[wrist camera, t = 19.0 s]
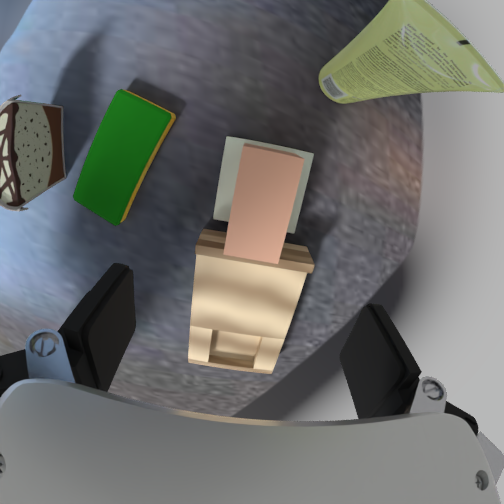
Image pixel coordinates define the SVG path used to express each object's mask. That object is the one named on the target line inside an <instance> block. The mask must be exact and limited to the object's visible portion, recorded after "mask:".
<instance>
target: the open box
mask: <svg viewBox="0 0 504 504" xmlns="http://www.w3.org/2000/svg"><path fill="white" fill-rule="evenodd" d="M226 235H227V232H221V231H215V230H209V229H203V230H202V232H201V234H200V237H199V239H198V241H197V243H196V248H195V254H197V256H196V266H195V276H194V286H193V297H192V309H191V323H190V337H189V354H188V362H189V363H195V364H200V365H206V366H212V367H219V368H226V369H233V370H240V371H248V372H257V373H267V374H272V371H273V369H274V366H275V363H276V361H277V358H278V356H279V353H280V350H281V347H282V345H283V342H284V339H285V337H286V334H287V331H288V328H289V325H290V323H291V320H292V317H293V314H294V311H295V308H296V305H297V302H298V299H299V297H300V294H301V291H302V288H303V284H304V281H305V278H306V275H307V273H312V272H313V269H314V262H313V260H312V258H311V255H310V253H309V251H308V248H307V247H306V246H300V245H295V244H289V243H284V244H283V247H282V251H281V255H280V259H279V262H278V264H274V263H269V262H263V261H257V260H251V259H246V258H240V257H234V256H228V255H223V253H224V247H225V241H226Z"/></svg>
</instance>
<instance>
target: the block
mask: <svg viewBox="0 0 504 504" xmlns="http://www.w3.org/2000/svg"><path fill="white" fill-rule="evenodd" d="M304 160H305V159H304V158H302V157H300V156H299V155H297V154H295V153H291V152H286V151H282V150H277V149H273V148H268V147H263V146H258V145H253V144H247V143H244V145H243V149H242V154H241V159H240V164H239V169H238V174H237V180H236V185H235V191H234V196H233V201H232V207H231V213H230V218H229V224H228V230H227V235H226V241H225V247H224V253H223V255H228V256H234V257H240V258H246V259H251V260H257V261H263V262H269V263H274V264H278V262H279V259H280V255H281V251H282V247H283V244H284V240H285V236H286V232H287V228H288V224H289V221H290V217H291V213H292V209H293V205H294V201H295V197H296V193H297V189H298V185H299V180H300V176H301V172H302V168H303V164H304Z"/></svg>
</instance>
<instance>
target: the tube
mask: <svg viewBox="0 0 504 504" xmlns="http://www.w3.org/2000/svg"><path fill="white" fill-rule="evenodd" d="M319 85H320V88H321V90H322V91H323V93H324V94H325V95H326V96H327V97H328V98H329V99H331V100H333V101H335V102H337V103H343V104H346V103H352V102H357V101H363V100H368V99H374V98H380V97H387V96H395V95H404V94H413V93H427V92H446V91H474V92H500V93H503V92H504V81H503V80H502V79H501V77H500V76H499V75H498V74H497V72H496V71H495V70H494V68H493V67H492V66H491V65H490V63H489V62H488V61H487V60H486V59H485V57H484V56H483V55H482V54H481V53H480V52H479V51H478V50H477V48H476V47H475V46H474V45H473V44H472V43H471V42H470V41H469V40H468V39H467V38H466V36H464V34H463V33H462V32H461V31H460V30H459V29H458V28H456V26H455V25H454V24H453V23H451V22H450V21H449V20H448V19H447V18H446V17H445V16H444V15H443V14H442V13H441V12H439V11H438V10H437V9H436V8H435V7H434V6H433V5H432V4H430V3H429V2H428V1H427V0H389V1H388V3H387V4H386V5H385V6H384V8H383V9H382V10H381V11H380V12H379V13H378V14H377V16H376V17H375V18H374V19H373V20H372V21H371V22H370V23H369V24H368V25H367V26H366V27H365V28H364V29H363V30H362V31H361V32H360V33H359V34H358V35H357V36H356V37H355V38H354V39H353V40H352V41H351V42H350V43H349V44H348V45H347V46H346V47H345V48H344V49H342V50H341V51H340V52H339V53H338V54H337V55H336V56H335V57H333V58H332V59H331V60H330V61H329V62H328V63H327V64H325V65H324V66H323V68H322V69H321V71H320V73H319Z"/></svg>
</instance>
